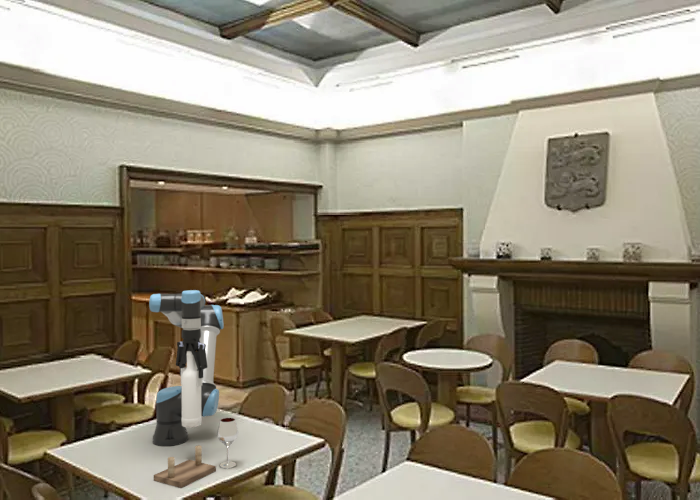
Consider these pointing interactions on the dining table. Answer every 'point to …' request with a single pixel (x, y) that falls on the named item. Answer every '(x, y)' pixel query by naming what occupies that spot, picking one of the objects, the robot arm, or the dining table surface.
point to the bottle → (190, 395)
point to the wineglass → (227, 437)
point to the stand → (185, 471)
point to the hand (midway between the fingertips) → (191, 384)
